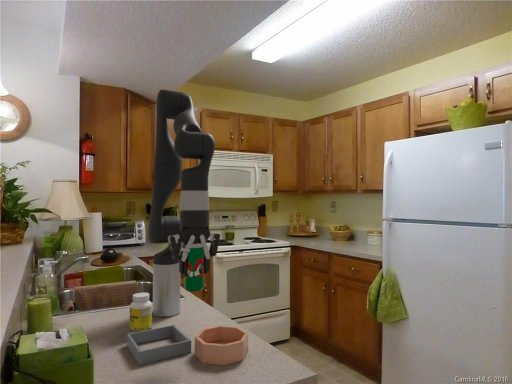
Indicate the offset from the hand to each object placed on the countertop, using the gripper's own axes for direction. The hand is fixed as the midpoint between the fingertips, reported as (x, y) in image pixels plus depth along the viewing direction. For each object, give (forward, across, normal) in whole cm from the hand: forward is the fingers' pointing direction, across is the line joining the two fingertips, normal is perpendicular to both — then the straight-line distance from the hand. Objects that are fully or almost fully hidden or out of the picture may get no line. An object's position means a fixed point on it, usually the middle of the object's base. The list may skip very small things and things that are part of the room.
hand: (194, 274), depth 89 cm
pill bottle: (+20, +9, -21) cm, 30 cm away
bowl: (+20, -6, +4) cm, 21 cm away
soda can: (+4, 0, 0) cm, 4 cm away
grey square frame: (+20, +7, -7) cm, 22 cm away
